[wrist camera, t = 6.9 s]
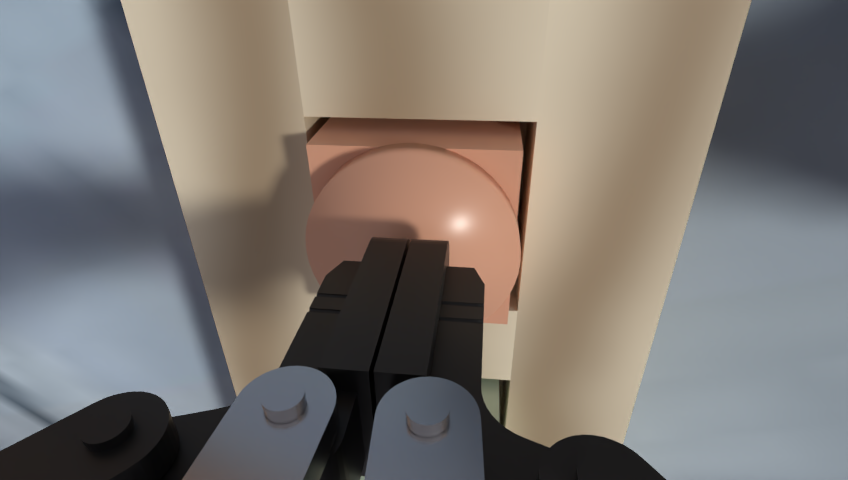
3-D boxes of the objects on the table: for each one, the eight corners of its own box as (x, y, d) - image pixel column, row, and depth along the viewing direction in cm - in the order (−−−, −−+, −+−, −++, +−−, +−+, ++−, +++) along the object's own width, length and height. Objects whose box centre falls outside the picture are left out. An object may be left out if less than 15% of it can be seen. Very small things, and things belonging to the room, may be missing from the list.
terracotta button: (522, 107, 12) (530, 157, 9) (508, 267, 14) (512, 345, 12) (334, 103, 13) (290, 150, 10) (351, 258, 15) (319, 331, 12)
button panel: (696, -25, 11) (755, -14, 9) (559, 562, 24) (566, 636, 22) (193, -22, 13) (117, -11, 10) (316, 535, 26) (296, 601, 23)
